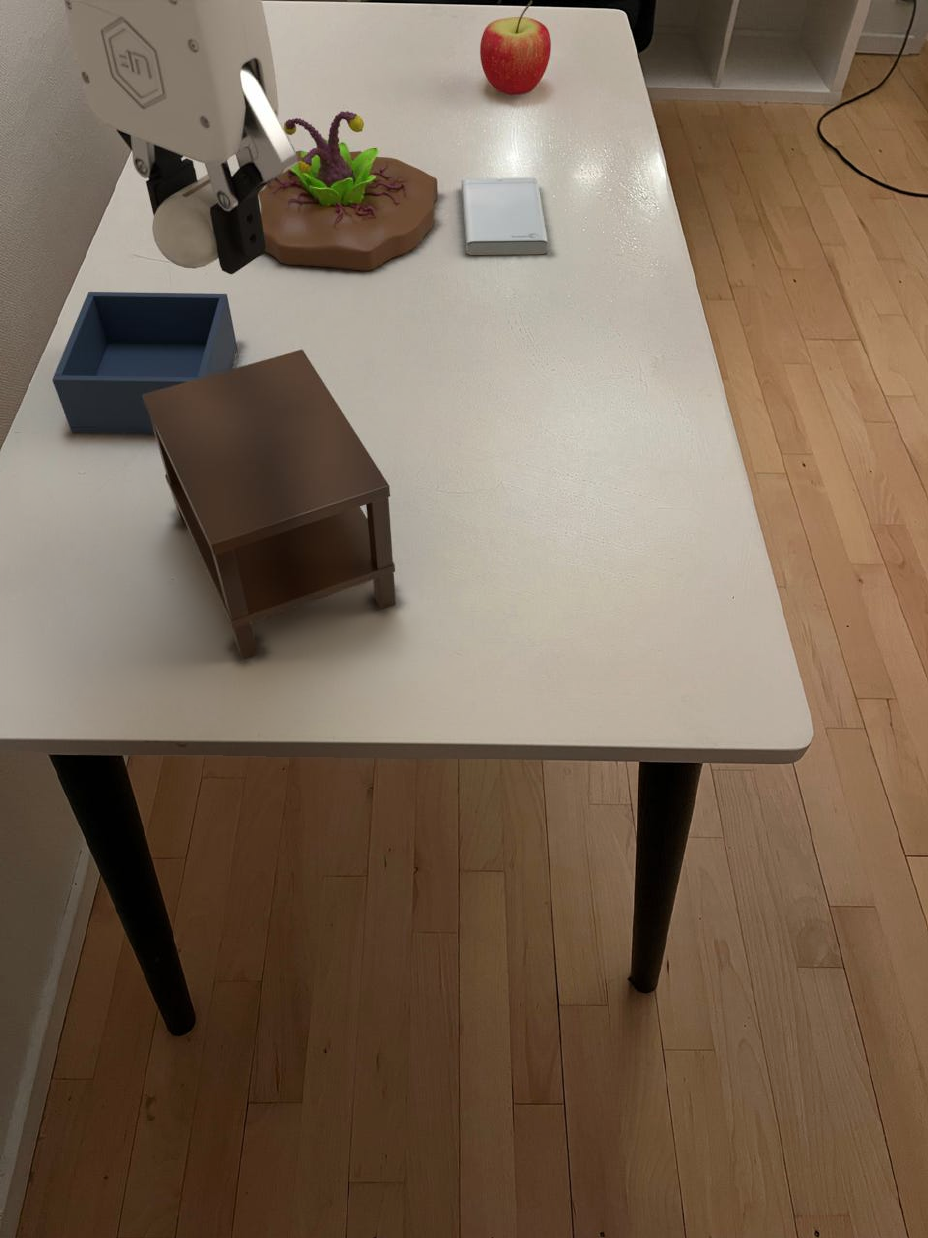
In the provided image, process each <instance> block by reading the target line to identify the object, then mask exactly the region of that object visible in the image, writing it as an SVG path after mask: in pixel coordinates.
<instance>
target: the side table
mask: <svg viewBox="0 0 928 1238" xmlns="http://www.w3.org/2000/svg"><path fill="white" fill-rule="evenodd" d="M142 398H143V401H144V405H145V407H146V409H147V411H148V414H149V416H150V420H151V423H152V427H153V430H154V434H153V435H154V438H155V440H156V444H157V447H158V451H159V455H160V457H161V461H162V464H163V468H164V472H165V475H164V476H165V480H166V483H167V485H168V487H169V490H170V493H171V496H172V500H173V503H174V506H175V510H176V514H177V517H178V518H179V519H178V520H179V521H180V523H181V525H182V526H184V525H185V526H186V527H187V530H188V532H189V534H190V536H191V539H192V541H193V543H194V545H195V548H196V550H197V552H198V555H199V557H200V558H201V559H200V560H201V561H202V564H203V565H204V567H205V570H206V572H207V574H208V576H209V579H210V582H211V584H212V586H213V588H214V589H215V592H216V594H217V596H218V599H219V602H220V603H221V605H222V608H223V611H224V613H225V614H226V617H227V619H228V621H229V623H230V626H231V631H232V634H233V637H234V641H235V645H236V649H237V651H238V653H239V656H240V657H241V659H242V660H247V659H248V658H251V657H254V656H257V655H259V651H258V646H257V642H256V636H255V633H254V629H253V625H252V623H255V622H258V621H260V620H264V619H267V618H268V617H272V616H274V615H277V614H280V613H283V612H285V611H288V610H292V609H294V608H297V607H300V606H303V605H305V604H308V603H312V602H314V601H317V600H319V599H322V598H326V597H328V596H330V595H333V594H336V593H339V592H342V591H344V590H347V589H350V588H353V587H356V586H359V585H362V584H364V583H367V582H370V581H372V583H373V593H374V600H375V601H376V603H377V605H378V606H379V608H380V609H381V610H383V609H386V608H389V607H392V606H394V605H396V604H397V602H396V601H397V600H396V588H395V586H396V585H395V572H396V564H395V562H394V557H393V546H392V529H391V515H390V502H389V501H390V499H389V497H391V491H390V489H391V488H390V484H389V483H388V482H387V480H386V479H385V476H384V474H382V472H381V470H380V469H379V468H378V465H377V464H376V462H375V461H374V459H373V458H372V456H371V455H370V453H369V452H368V450H367V448H366V447H365V446H364V443H363V442H362V440H361V439H360V437H359V436H358V434H357V433H356V431H355V429H354V428H353V427H352V424H351V423H350V421H349V420H348V418H347V417H346V416H345V413H344V412H343V411H342V409H341V408H340V406H339V405H338V403H337V401H336V400H335V398H334V396H333V395H332V394H331V392H330V391H329V389H328V387H327V386H326V384H325V382H324V381H323V378H321V376H320V375H319V373H318V372H317V370H316V368H315V366H314V365H313V364H312V362H311V361H310V359H309V357H308V355H307V354H306V353H305V351H304V349H298V350H295V351H292V352H288V353H284V354H281V355H277V356H274V357H270V358H267V359H263V360H260V361H259V360H258V361H255V362H253V363H249V364H245V365H242V366H238V367H235V368H232V369H231V370H227V371H224V372H220V373H217V374H213V375H210V376H206V377H203V378H199V379H196V380H192V381H189V382H185V383H181V384H178V385H174V386H171V387H167V388H164V389H160V390H157V391H153V392H150V393H146V394H143V395H142ZM363 506H366V507H365V508H366V515H365V512H364V510H363V509H362V508H361V507H363Z"/></svg>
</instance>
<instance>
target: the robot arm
mask: <svg viewBox="0 0 928 1238" xmlns="http://www.w3.org/2000/svg"><path fill="white" fill-rule="evenodd" d="M63 1H64V7H65V12H66V18H67V22H68V28H69V33H70V37H71V43H72V47H73V52H74V56H75V57H74V58H75V61H76V65H77V66H76V67H77V70H78V74H79V78H80V82H81V86H82V91H83V94H84V96H85V99H86V103H87V105H88V108H89V110H90V112H91V113H92V114H93V115H94V116H95V117H96V118H97V119H98V120H99V121H100V122H102V123H103V124H104V125H107V126H109V127H110V128H113V129H115V130H116V132H117V133H118V135H119V136H120V138H121V139H122V140H123V141H124V142H125V144H126V145H127V147H128V148H129V149H130V150H131V154H132V163H133V166H134V168H135V171H136V172H137V174H138V175H139V176H140V177H142V178H145V179H147V180H145V185H146V188H147V193H148V197H149V202H150V206H151V210H152V215H153V216H154V215H155V212H156V210H157V208H158V207H159V206H160V204H161V203H162V202H163V201H164V200H166V199H167V198H168V197H170V196H171V195H173V194H175V193H176V192H178V191H180V190H182V189H183V188H185V187H187V186H188V185H190V184H192V183H193V182H195V181H197V180H198V177H197V172H196V168H195V164H194V161H196V162H199V163H202V164H204V167H205V170H206V173H207V174H208V176H209V179H210V182H211V185H212V189H213V192H214V195H215V198H216V201H217V203H216V204H215V205H213V206H212V207H210V215H211V221H212V226H213V231H214V235H215V238H216V243H217V253H218V263H219V267H220V269H221V271H222V272H224V273H226V274H229V275H234V274H235V273H237V272H238V271H240V270H241V269H243V268H244V267H245V266H247V265H248V264H251V263H252V262H253V261H254V260H256V259H258V258H259V257H261V256H262V255H263V254H264V253H265V252H264V251H265V248H266V245H265V238H264V232H263V225H262V218H261V211H260V205H259V198H258V193H259V192H261V191H262V190H264V189H265V188H266V184H267V183H268V182H269V181H270V180H271V179H273V178H275V177H277V176H280V175H281V174H283V173H285V172H286V171H288V170H289V169H291V168H293V167H294V166H296V165H297V164H298V155H297V153H296V149H295V147H294V145H293V143H292V142H291V140H290V137H289V135H288V134H286V132H285V130H284V125H283V124H282V122H281V121H280V119H279V98H278V97H279V96H278V86H277V79H276V72H275V64H274V58H273V52H272V51H273V50H272V47H271V41H270V35H269V29H268V23H267V19H266V15H265V9H264V6H263V1H262V0H63ZM234 155H235V157H236V160H237V164H238V169H237V170H236V172H235V174H234V175H233V176H231V172H230V171H231V170H230V166H229V162H228V160H229V159H230V158H232V157H233V156H234ZM183 157H185V158H184V159H183Z"/></svg>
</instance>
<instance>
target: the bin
mask: <svg viewBox="0 0 928 1238" xmlns="http://www.w3.org/2000/svg"><path fill="white" fill-rule="evenodd" d="M237 348H238V344H237V338H236V333H235V329H234V323H233V317H232V313H231V308H230V303H229V297H228V294H227V293H203V292H202V293H201V292H200V293H199V292H198V293H195V292H193V293H191V292H190V293H189V292H188V293H187V292H133V291H132V292H131V291H129V292H128V291H126V292H123V291H120V292H119V291H88V292H87V295H86V297H85V300H84V301H83V305H82V307H81V309H80V312H79V314H78V316H77V319H76V321H75V323H74V326H73V328H72V331H71V333H70V335H69V338H68V341H67V343H66V345H65V348H64V350H63V352H62V355H61V357H60V360H59V362H58V364H57V367H56V369H55V372H54V373H53V377H52V379H51V380H52V383H53V385H54V389H55V390H56V394H57V396H58V400H59V402H60V404H61V408H62V410H63V413H64V415H65V418H66V421H67V424H68V426H69V429H70V432H71V433H73V434H74V433H75V434H76V433H77V434H78V433H79V434H131V435H132V434H135V435H137V434H140V435H155V434H154V430H153V427H152V423H151V420H150V416H149V414H148V411H147V409H146V407H145V405H144V401H143V398H142V395H143V394H146V393H150V392H153V391H157V390H160V389H164V388H167V387H171V386H174V385H178V384H181V383H185V382H189V381H192V380H196V379H199V378H203V377H206V376H210V375H213V374H217V373H220V372H224V371H227V370H231V369H233V365H234V361H235V356H236V353H237Z"/></svg>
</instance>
